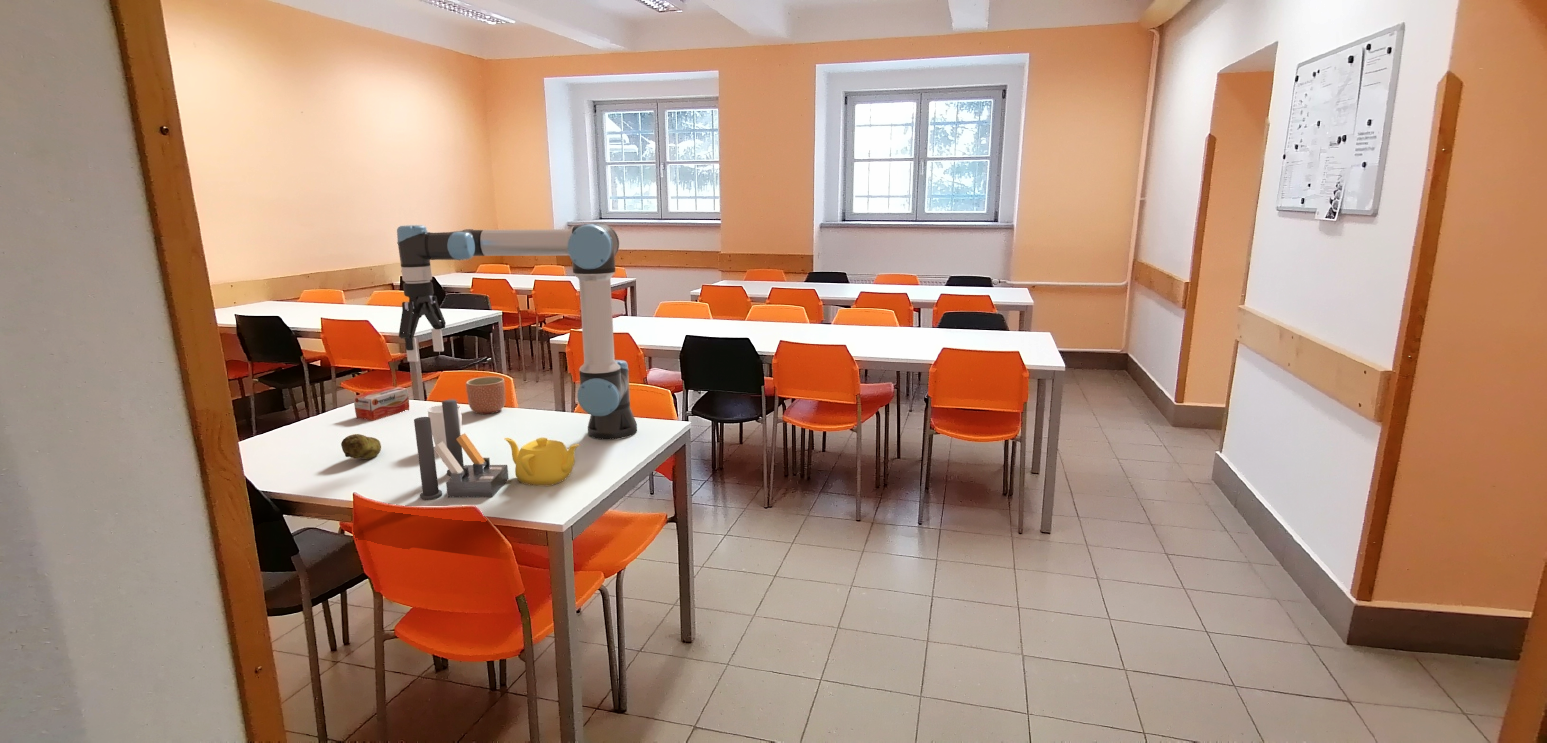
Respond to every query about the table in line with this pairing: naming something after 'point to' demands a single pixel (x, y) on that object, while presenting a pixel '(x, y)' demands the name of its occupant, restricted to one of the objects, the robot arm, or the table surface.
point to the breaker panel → (477, 480)
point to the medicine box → (381, 403)
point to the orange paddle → (471, 450)
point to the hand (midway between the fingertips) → (426, 356)
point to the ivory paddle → (448, 459)
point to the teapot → (542, 461)
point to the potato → (360, 446)
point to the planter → (486, 394)
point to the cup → (440, 423)
